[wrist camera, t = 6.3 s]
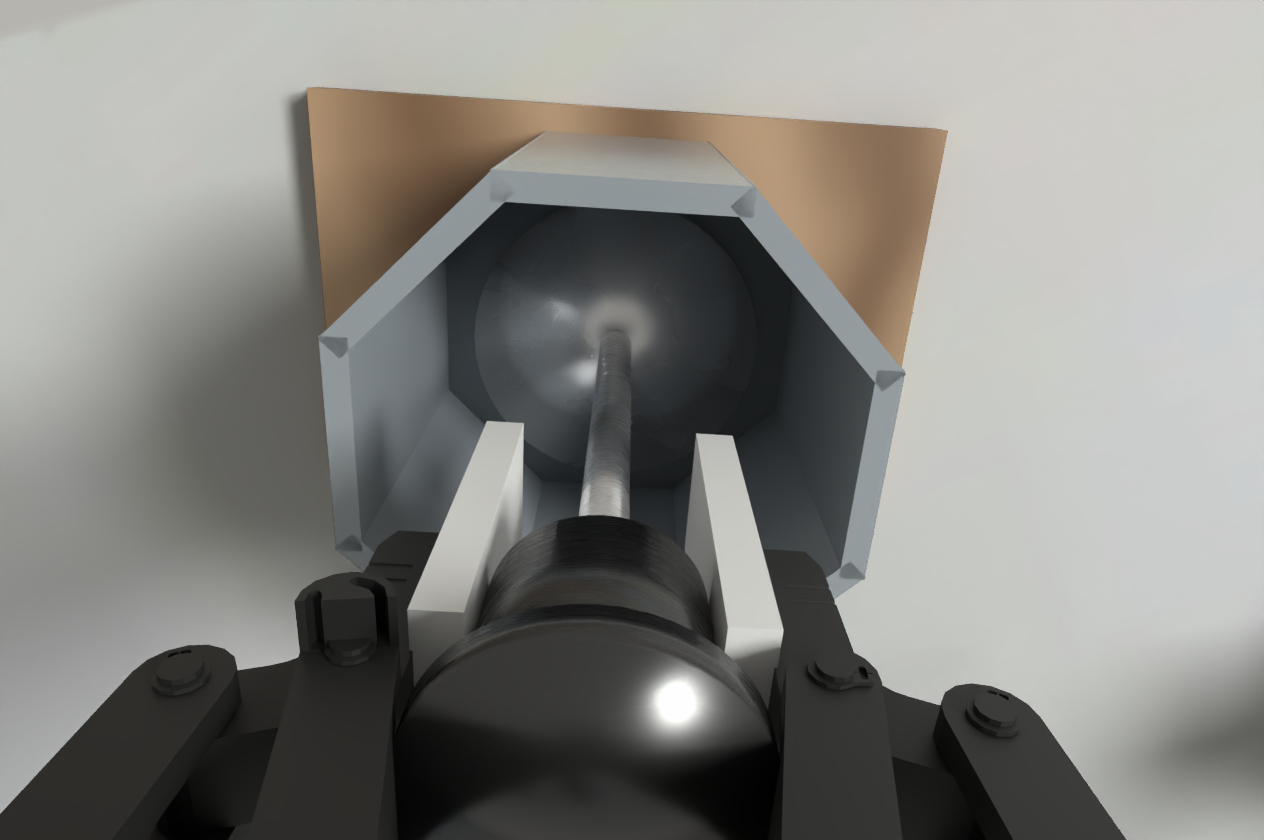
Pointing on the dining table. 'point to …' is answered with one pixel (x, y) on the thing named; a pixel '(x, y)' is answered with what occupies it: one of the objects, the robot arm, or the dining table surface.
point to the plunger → (598, 562)
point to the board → (758, 146)
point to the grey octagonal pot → (659, 497)
